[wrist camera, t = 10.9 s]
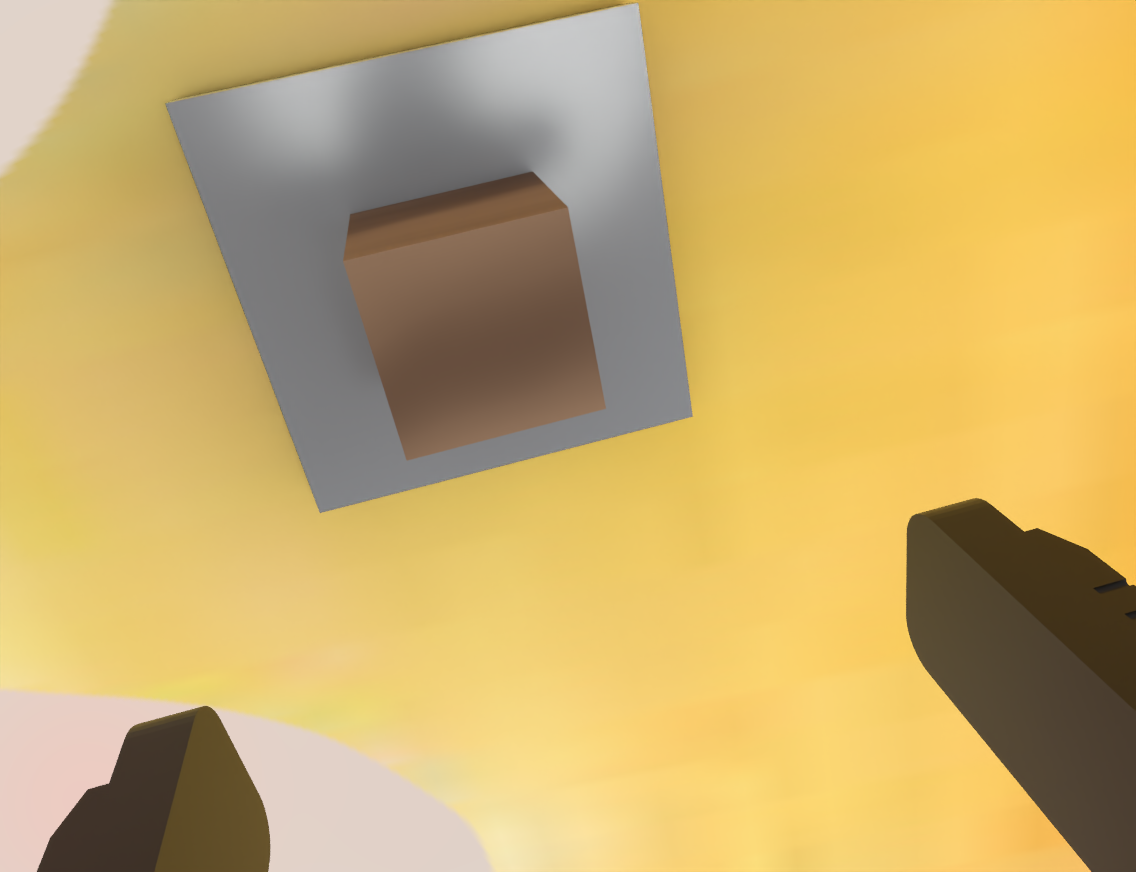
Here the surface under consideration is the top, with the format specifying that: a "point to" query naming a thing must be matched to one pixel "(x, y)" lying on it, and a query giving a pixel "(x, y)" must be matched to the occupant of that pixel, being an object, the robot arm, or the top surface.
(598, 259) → the plate
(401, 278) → the walnut cube
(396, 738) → the top surface
